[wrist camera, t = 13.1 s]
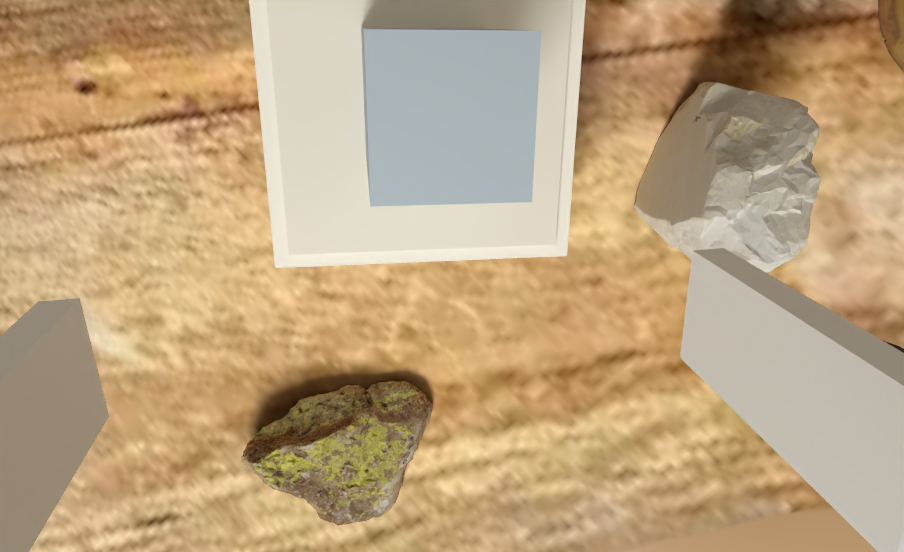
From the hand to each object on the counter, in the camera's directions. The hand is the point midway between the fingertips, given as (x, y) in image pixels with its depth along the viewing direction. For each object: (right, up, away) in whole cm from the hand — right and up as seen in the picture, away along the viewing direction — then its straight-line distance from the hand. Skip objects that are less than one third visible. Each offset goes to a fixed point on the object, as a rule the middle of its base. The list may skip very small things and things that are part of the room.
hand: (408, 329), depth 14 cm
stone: (+16, +9, +28) cm, 33 cm away
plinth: (-1, +13, +24) cm, 27 cm away
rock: (-7, -11, +32) cm, 35 cm away
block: (0, +10, +18) cm, 21 cm away
